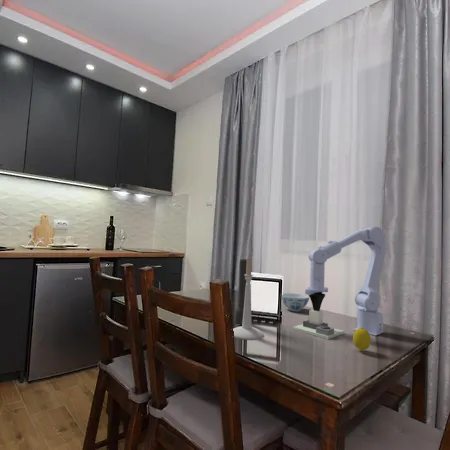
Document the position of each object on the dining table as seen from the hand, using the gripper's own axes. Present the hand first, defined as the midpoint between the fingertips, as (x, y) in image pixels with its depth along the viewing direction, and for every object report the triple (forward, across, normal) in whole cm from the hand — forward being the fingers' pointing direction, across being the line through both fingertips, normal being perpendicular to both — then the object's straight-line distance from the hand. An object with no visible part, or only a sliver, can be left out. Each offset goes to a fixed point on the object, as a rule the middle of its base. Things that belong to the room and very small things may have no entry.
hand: (316, 310), depth 130 cm
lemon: (+8, +10, +24) cm, 27 cm away
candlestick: (+8, +29, -12) cm, 33 cm away
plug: (+7, 0, 0) cm, 7 cm away
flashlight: (+8, +19, -24) cm, 32 cm away
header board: (+8, +1, +2) cm, 8 cm away
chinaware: (+8, -25, -28) cm, 39 cm away
